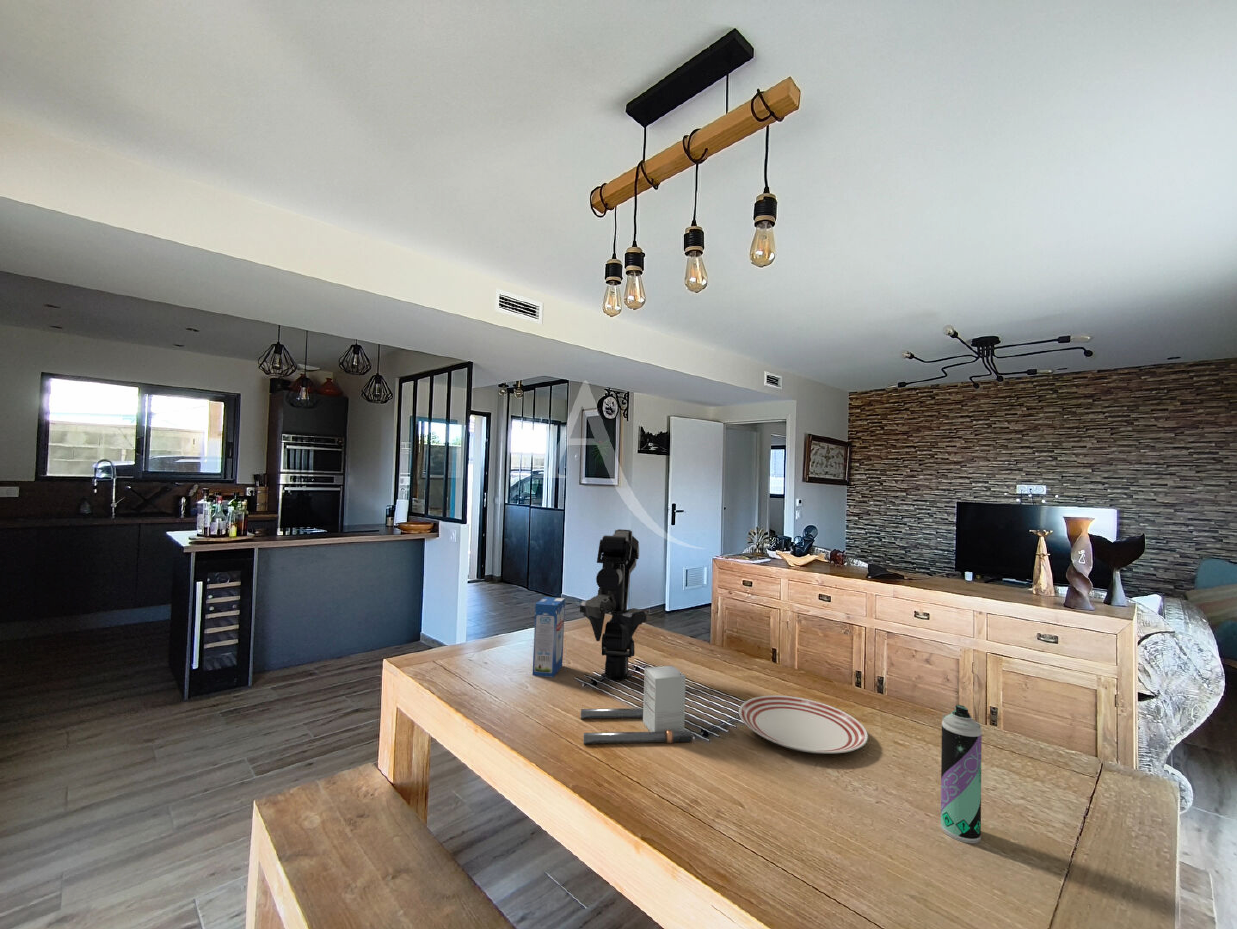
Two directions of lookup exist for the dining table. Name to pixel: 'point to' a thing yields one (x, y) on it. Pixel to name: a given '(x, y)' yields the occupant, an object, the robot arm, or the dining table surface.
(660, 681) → the supplement box
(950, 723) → the spray can
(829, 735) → the dinner plate
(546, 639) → the milk carton
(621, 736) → the pipe track
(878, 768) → the dining table surface
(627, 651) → the robot arm
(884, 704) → the dining table surface
